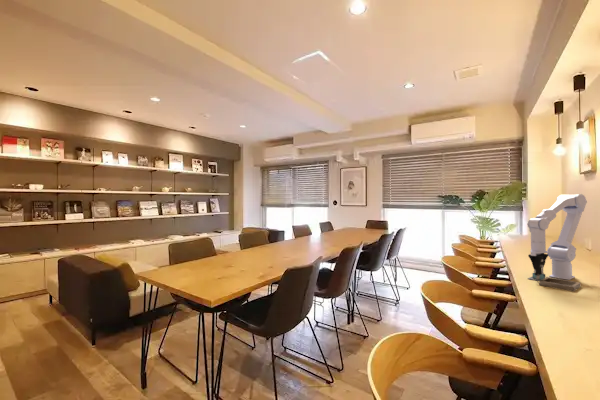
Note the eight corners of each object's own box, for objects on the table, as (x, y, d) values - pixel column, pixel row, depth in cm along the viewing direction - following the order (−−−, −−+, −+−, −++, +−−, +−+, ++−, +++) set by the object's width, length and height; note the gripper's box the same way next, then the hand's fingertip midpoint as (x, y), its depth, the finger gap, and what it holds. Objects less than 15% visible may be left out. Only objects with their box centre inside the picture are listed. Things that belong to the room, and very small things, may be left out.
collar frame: (547, 281, 140) (547, 277, 140) (580, 287, 130) (580, 282, 130) (539, 285, 134) (539, 280, 134) (573, 291, 124) (573, 286, 124)
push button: (550, 279, 141) (550, 259, 142) (547, 281, 138) (547, 260, 139) (533, 277, 147) (533, 257, 147) (530, 278, 144) (530, 258, 144)
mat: (533, 276, 148) (533, 276, 148) (550, 279, 143) (550, 278, 143) (527, 279, 144) (527, 278, 144) (545, 282, 138) (545, 281, 138)
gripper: (543, 244, 136) (543, 272, 136) (552, 241, 144) (553, 268, 144) (525, 242, 142) (525, 269, 142) (535, 240, 150) (536, 265, 150)
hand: (538, 268), depth 143 cm, fingers closed on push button, 5 cm apart
